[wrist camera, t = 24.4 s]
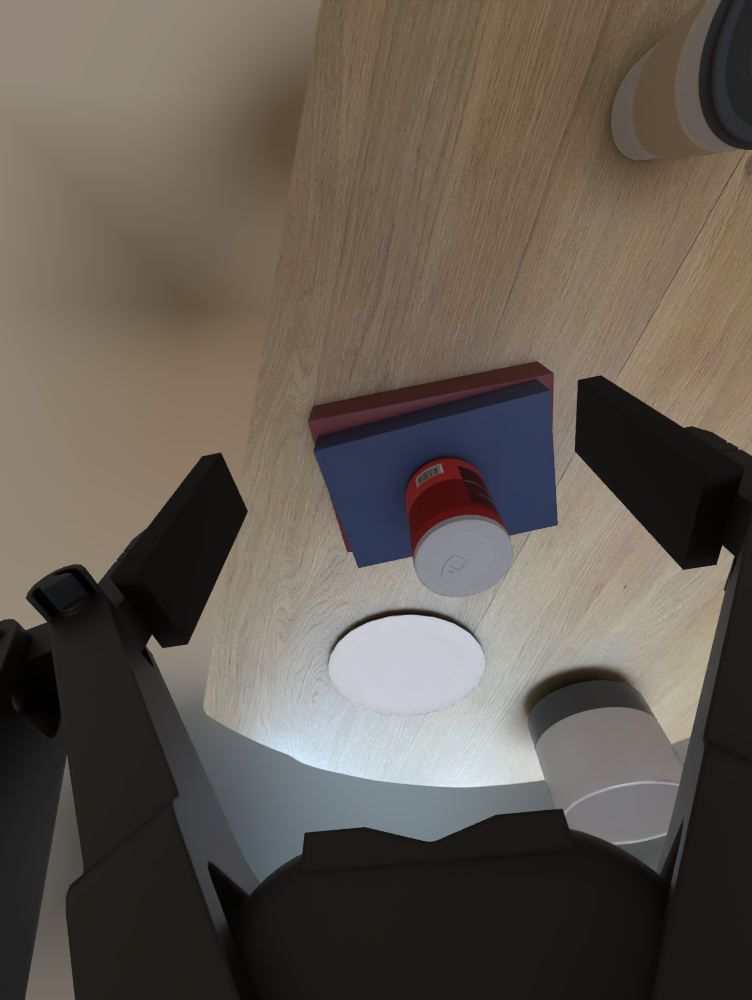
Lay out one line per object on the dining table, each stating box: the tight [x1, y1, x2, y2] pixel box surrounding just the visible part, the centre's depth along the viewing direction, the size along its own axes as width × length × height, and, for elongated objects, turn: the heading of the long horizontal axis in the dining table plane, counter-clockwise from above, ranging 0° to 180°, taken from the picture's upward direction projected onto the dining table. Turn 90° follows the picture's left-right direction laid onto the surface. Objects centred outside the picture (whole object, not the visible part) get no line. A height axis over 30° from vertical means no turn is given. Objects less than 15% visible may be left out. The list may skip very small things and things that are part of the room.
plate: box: [328, 614, 485, 716], centre depth 68 cm, size 25×25×2 cm
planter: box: [528, 680, 684, 845], centre depth 66 cm, size 19×19×18 cm
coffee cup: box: [611, 0, 752, 161], centre depth 27 cm, size 9×9×15 cm
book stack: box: [308, 362, 558, 568], centre depth 45 cm, size 17×24×8 cm
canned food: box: [406, 457, 513, 597], centre depth 37 cm, size 8×8×11 cm
